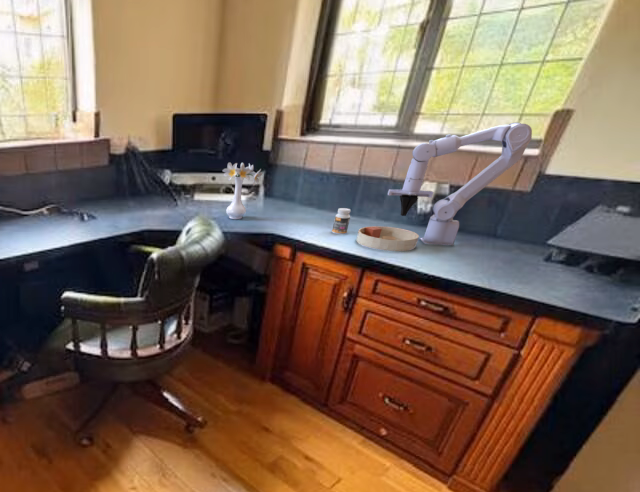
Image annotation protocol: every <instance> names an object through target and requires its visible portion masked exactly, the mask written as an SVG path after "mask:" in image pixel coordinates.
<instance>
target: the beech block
mask: <svg viewBox="0 0 640 492" xmlns="http://www.w3.org/2000/svg"><path fill="white" fill-rule="evenodd" d="M382 239H388V240H395V237H391V236H382Z"/></svg>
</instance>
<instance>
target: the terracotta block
mask: <svg viewBox="0 0 640 492" xmlns="http://www.w3.org/2000/svg"><path fill="white" fill-rule="evenodd" d="M372 226H373V225H372ZM374 226H375V225H374ZM374 226H373V227H371V226H365V227H366V229H365V233H364V234H365V235H367V236H371V237H375V238H379V237H380V234H381V230H382V229H381V228H378V227H374Z"/></svg>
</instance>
